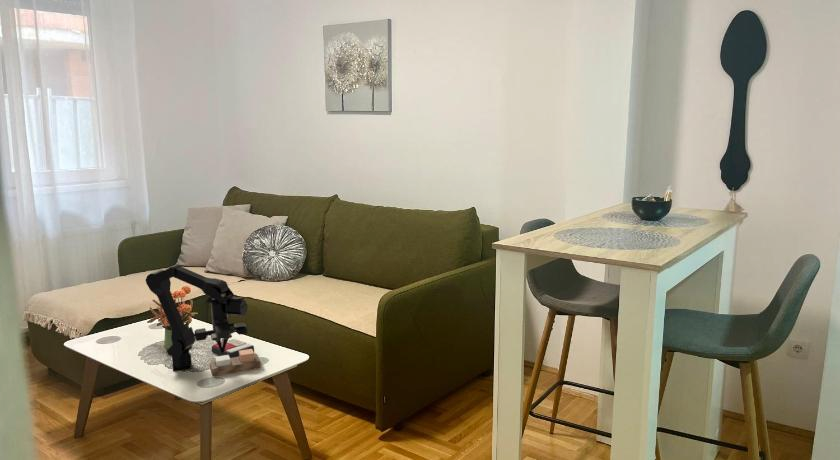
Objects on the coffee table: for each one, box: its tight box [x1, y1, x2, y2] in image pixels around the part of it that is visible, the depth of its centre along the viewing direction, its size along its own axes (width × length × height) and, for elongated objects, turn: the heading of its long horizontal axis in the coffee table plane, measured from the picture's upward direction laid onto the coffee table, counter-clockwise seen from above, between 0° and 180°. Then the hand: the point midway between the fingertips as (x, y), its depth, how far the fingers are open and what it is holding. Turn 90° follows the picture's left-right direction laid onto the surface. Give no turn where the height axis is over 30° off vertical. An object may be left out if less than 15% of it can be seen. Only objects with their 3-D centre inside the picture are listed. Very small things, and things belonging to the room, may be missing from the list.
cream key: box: [214, 355, 231, 367], centre depth 239 cm, size 5×5×4 cm
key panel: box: [209, 353, 262, 377], centre depth 241 cm, size 18×8×3 cm, turn 114°
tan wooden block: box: [239, 349, 255, 363], centre depth 242 cm, size 5×5×4 cm
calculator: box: [211, 338, 255, 358], centre depth 257 cm, size 11×4×15 cm
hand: (222, 352), depth 238 cm, fingers closed
